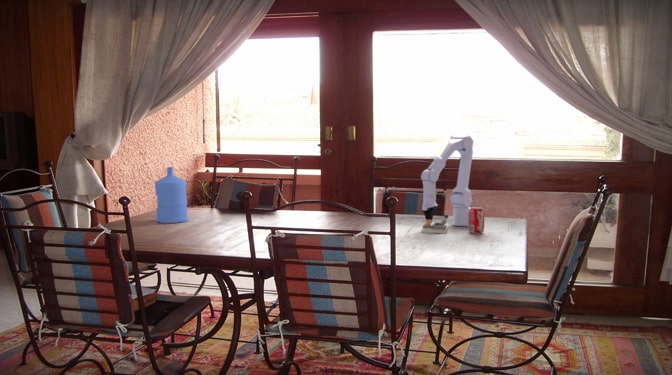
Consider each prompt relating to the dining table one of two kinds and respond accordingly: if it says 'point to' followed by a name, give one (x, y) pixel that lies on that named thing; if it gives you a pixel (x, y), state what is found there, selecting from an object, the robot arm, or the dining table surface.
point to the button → (439, 224)
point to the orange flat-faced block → (428, 222)
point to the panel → (435, 228)
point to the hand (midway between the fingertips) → (429, 223)
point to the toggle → (445, 217)
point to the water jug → (171, 199)
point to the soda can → (476, 220)
